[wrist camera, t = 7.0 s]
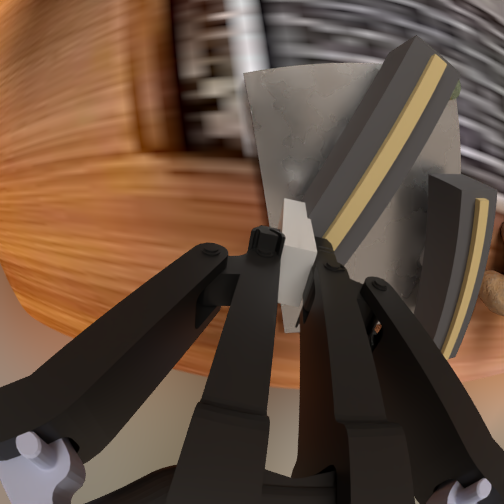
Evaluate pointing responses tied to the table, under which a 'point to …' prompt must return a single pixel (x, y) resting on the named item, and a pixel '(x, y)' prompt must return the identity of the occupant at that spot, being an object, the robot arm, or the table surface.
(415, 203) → the level plate
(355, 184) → the striped dark bar
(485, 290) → the figurine
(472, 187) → the curved tan-striped slab
